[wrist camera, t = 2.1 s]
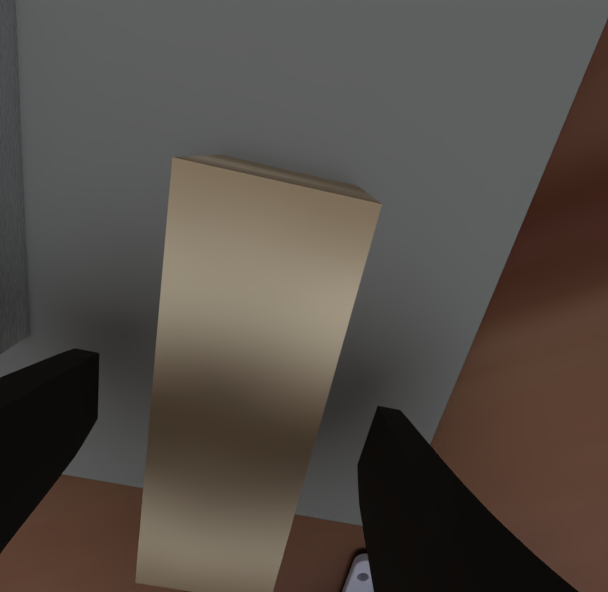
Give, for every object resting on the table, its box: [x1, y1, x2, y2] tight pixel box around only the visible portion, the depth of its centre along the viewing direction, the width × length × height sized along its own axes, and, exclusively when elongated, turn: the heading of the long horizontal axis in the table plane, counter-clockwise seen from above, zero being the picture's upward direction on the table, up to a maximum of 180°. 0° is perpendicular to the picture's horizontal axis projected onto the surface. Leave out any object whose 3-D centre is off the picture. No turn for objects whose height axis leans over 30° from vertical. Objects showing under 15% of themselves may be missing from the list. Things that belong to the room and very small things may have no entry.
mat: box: [0, 0, 608, 526], centre depth 12 cm, size 22×24×1 cm
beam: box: [135, 155, 382, 592], centre depth 11 cm, size 12×4×4 cm, turn 168°
